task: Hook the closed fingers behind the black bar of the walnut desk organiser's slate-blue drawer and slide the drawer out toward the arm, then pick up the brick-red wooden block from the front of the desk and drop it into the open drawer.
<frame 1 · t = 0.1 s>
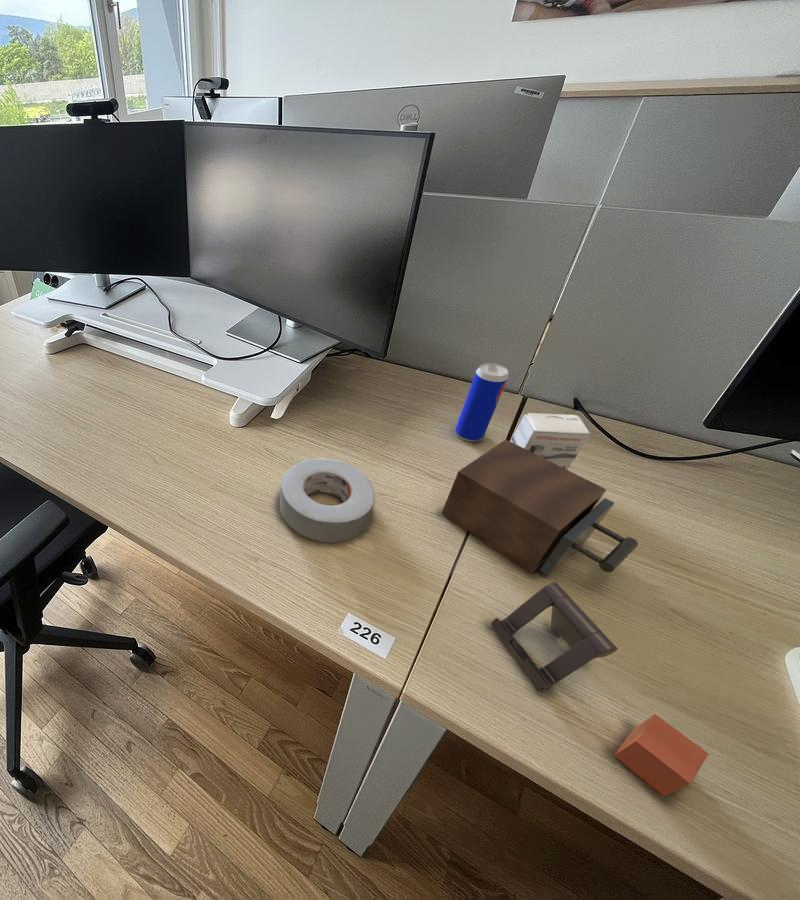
cabinet: (506, 523, 75), on the table
beverage can: (468, 435, 93), on the table
tablet stand: (537, 650, 60), on the table
block: (647, 761, 50), on the table
tape roll: (323, 509, 81), on the table
drawer: (549, 521, 69), point 5 cm above the table, slide at 0.5 cm
ink box: (528, 474, 83), on the table
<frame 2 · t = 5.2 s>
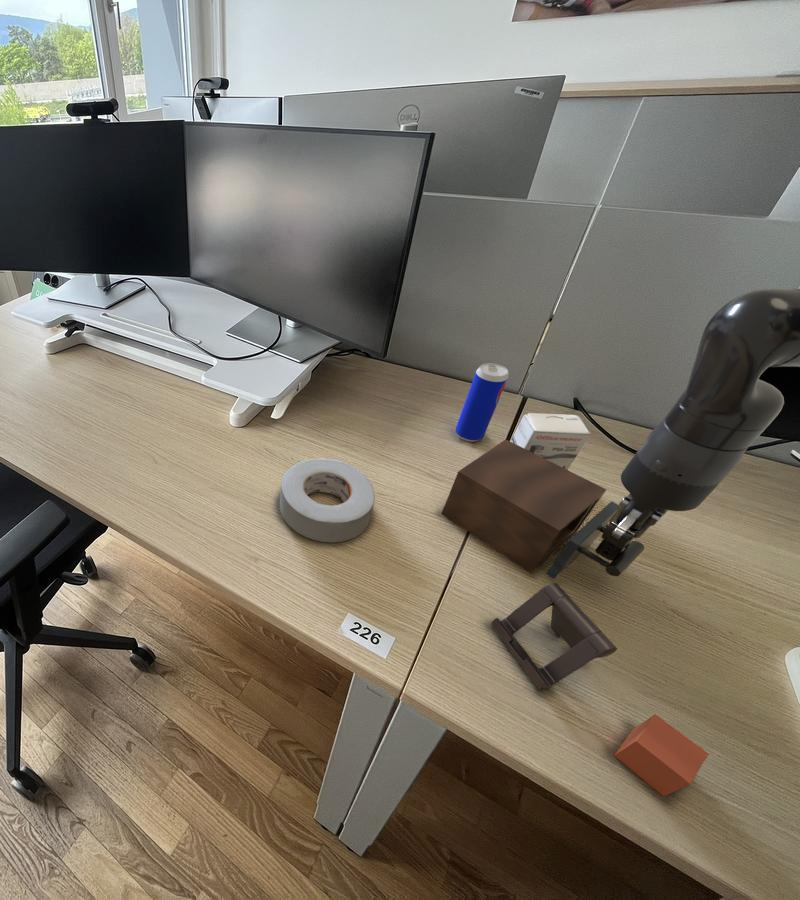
hand: (605, 553, 64), 5 cm above the table, tool pointing down, fingers closed
drawer: (555, 524, 68), point 5 cm above the table, slide at 1.3 cm, touching gripper
everything else where it was.
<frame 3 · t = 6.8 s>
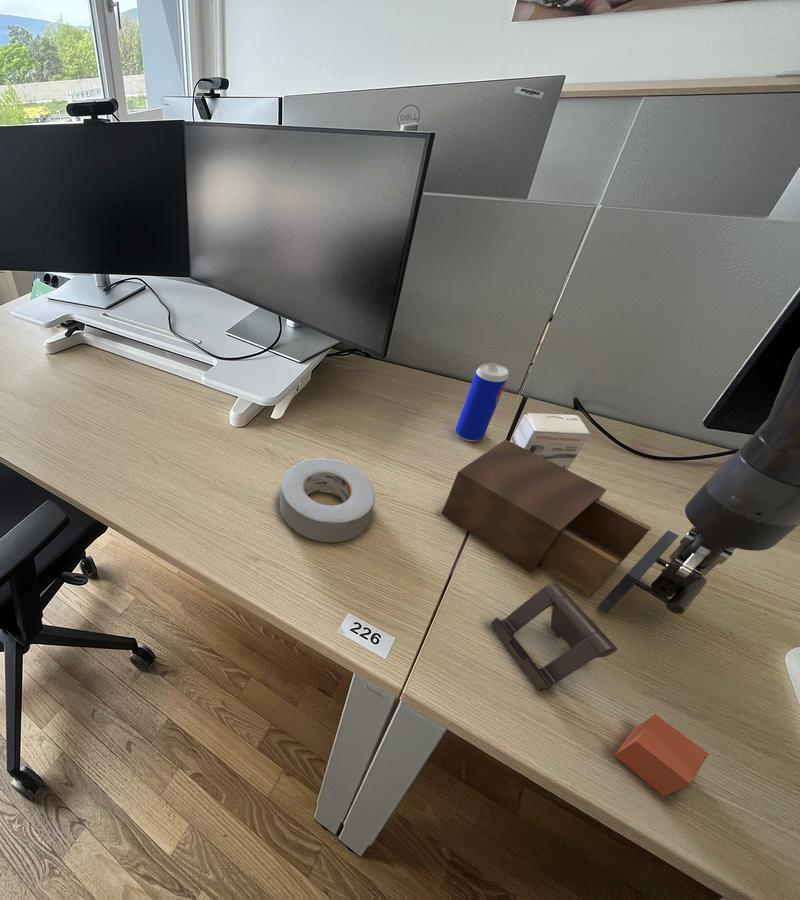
hand: (661, 589, 60), 4 cm above the table, tool pointing down, fingers closed
drawer: (606, 553, 64), point 5 cm above the table, slide at 7.9 cm
everything else where it was.
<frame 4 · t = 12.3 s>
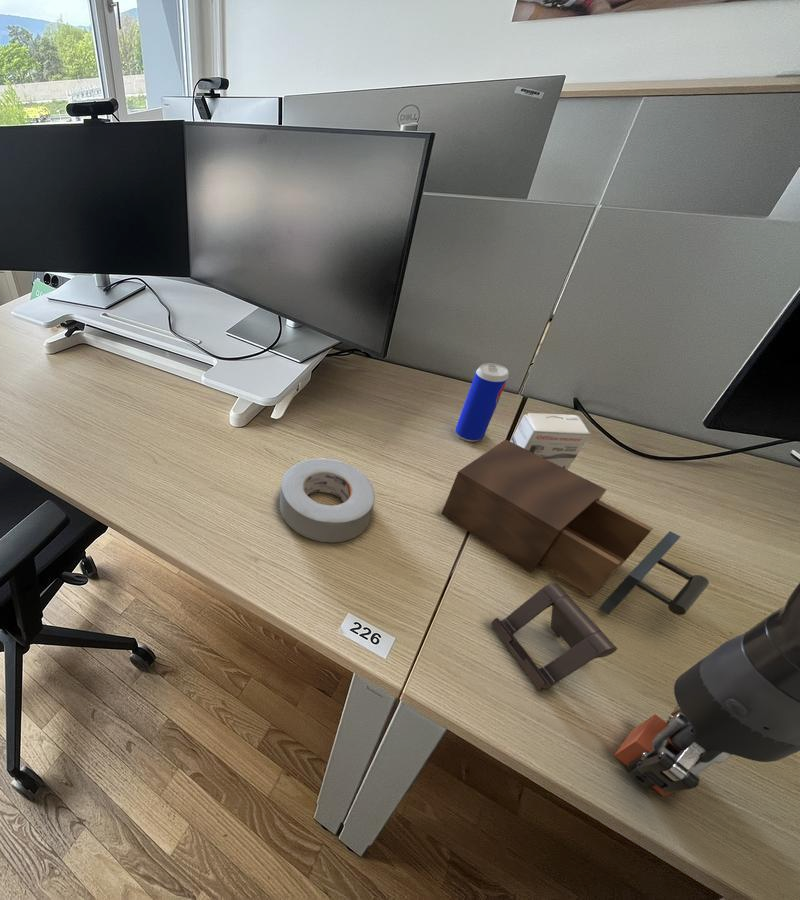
hand: (649, 760, 50), 0 cm above the table, tool pointing down, fingers closed on block, 4 cm apart
block: (647, 761, 50), on the table, touching gripper
everything else where it was.
when the fingers open (8 cm above the table, at t = 18.9 s): block drops 6 cm, resting on drawer.
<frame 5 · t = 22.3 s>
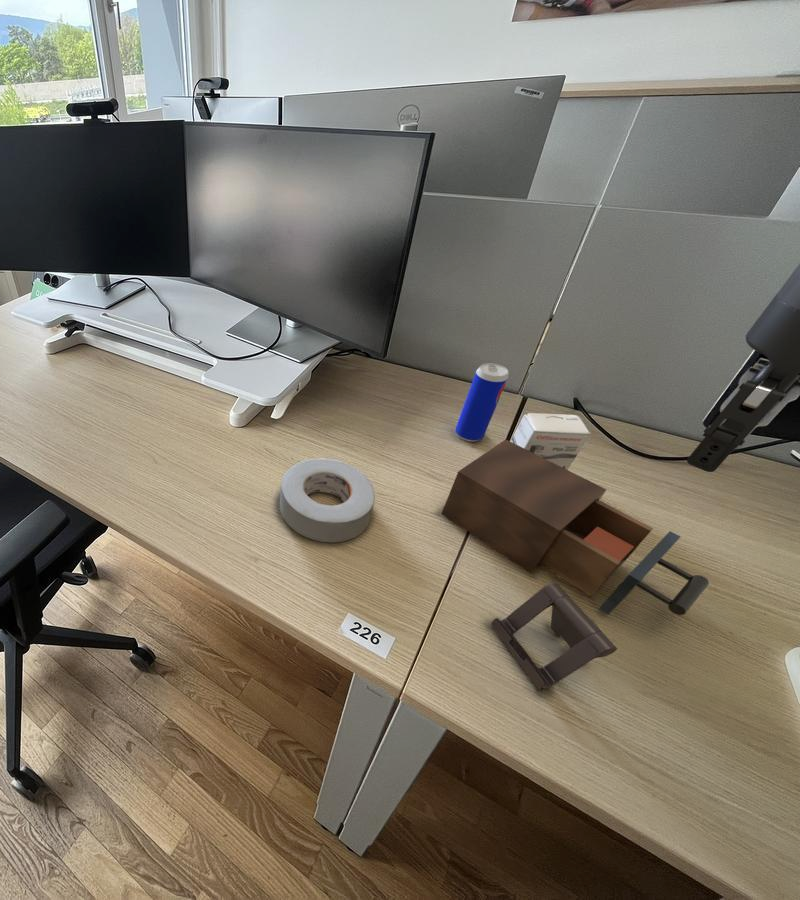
hand: (716, 449, 49), 26 cm above the table, tool pointing down, fingers open, 8 cm apart
block: (592, 563, 66), point 2 cm above the table, touching drawer
drawer: (607, 554, 64), point 5 cm above the table, slide at 8.1 cm, touching block
everything else where it was.
at the end: drawer slide at 8.1 cm; block inside the target area in the drawer (3.2 cm from its centre), point 2.1 cm above the cabinet's base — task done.
